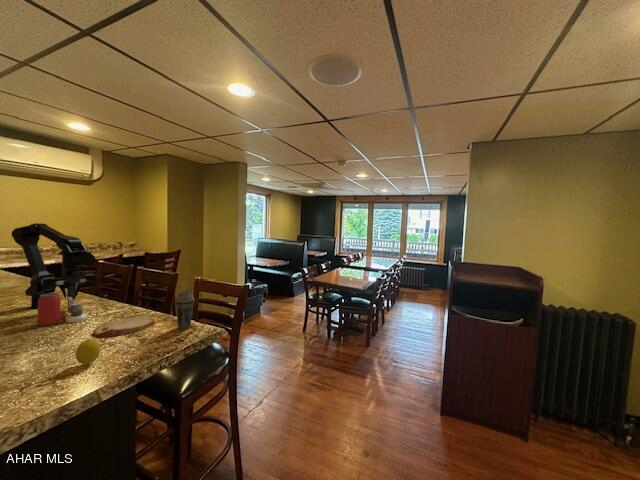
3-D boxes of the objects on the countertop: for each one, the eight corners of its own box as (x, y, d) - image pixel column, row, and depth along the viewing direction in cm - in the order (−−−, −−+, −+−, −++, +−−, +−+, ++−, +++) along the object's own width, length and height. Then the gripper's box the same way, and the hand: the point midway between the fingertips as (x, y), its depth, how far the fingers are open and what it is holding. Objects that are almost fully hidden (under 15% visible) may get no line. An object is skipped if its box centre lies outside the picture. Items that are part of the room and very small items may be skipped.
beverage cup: (197, 326, 116) (199, 281, 115) (182, 332, 109) (184, 283, 108) (185, 323, 119) (187, 278, 118) (170, 328, 112) (172, 281, 111)
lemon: (85, 360, 84) (85, 335, 84) (104, 360, 84) (104, 335, 84) (70, 369, 78) (70, 343, 78) (90, 370, 79) (91, 343, 79)
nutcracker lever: (82, 314, 115) (83, 295, 115) (70, 316, 112) (70, 296, 112) (75, 303, 130) (76, 285, 129) (64, 304, 127) (64, 286, 126)
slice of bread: (157, 320, 121) (158, 312, 121) (142, 337, 104) (142, 327, 104) (111, 321, 117) (111, 313, 116) (87, 339, 99) (87, 329, 99)
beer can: (64, 321, 113) (65, 293, 113) (47, 327, 107) (47, 297, 106) (50, 320, 114) (51, 292, 113) (32, 325, 107) (33, 295, 107)
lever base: (71, 317, 118) (71, 313, 118) (90, 317, 120) (90, 312, 120) (61, 323, 111) (61, 318, 111) (81, 322, 113) (81, 317, 113)
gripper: (44, 268, 114) (44, 305, 114) (100, 265, 128) (99, 297, 129) (41, 265, 121) (41, 299, 121) (94, 262, 135) (94, 292, 136)
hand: (70, 297), depth 127 cm, fingers open, 3 cm apart
